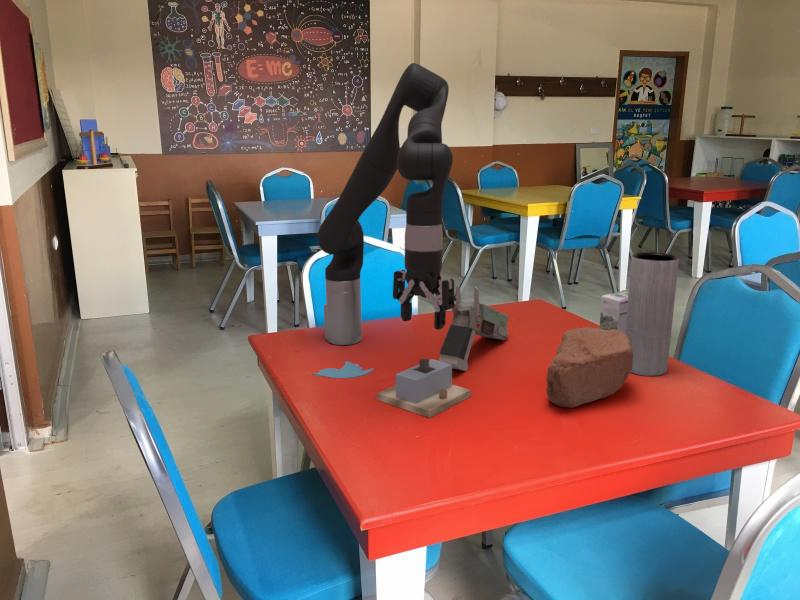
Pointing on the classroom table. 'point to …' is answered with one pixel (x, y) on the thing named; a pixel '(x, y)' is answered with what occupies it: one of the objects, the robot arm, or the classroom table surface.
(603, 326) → the syrup box
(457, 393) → the post base
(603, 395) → the stone
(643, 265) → the vase
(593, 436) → the classroom table surface
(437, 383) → the grey rectangular block
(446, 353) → the ray gun
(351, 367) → the decorative object
